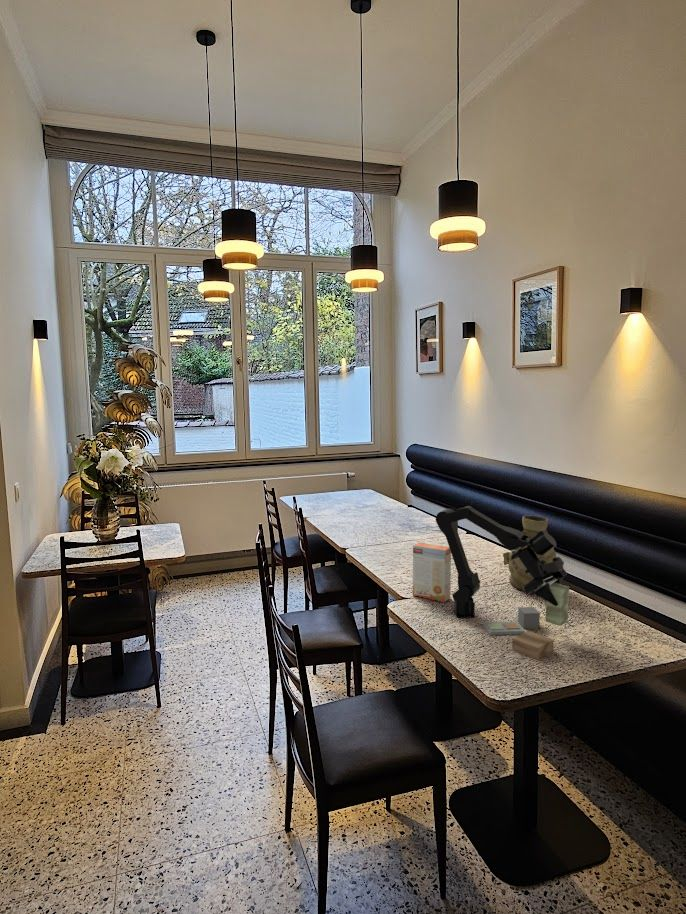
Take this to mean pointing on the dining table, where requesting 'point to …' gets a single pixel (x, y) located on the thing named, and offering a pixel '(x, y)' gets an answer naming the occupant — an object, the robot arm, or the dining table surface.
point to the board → (503, 628)
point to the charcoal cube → (528, 617)
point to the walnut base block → (532, 644)
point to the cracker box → (431, 571)
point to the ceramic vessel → (530, 529)
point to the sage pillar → (559, 612)
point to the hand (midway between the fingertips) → (561, 603)
